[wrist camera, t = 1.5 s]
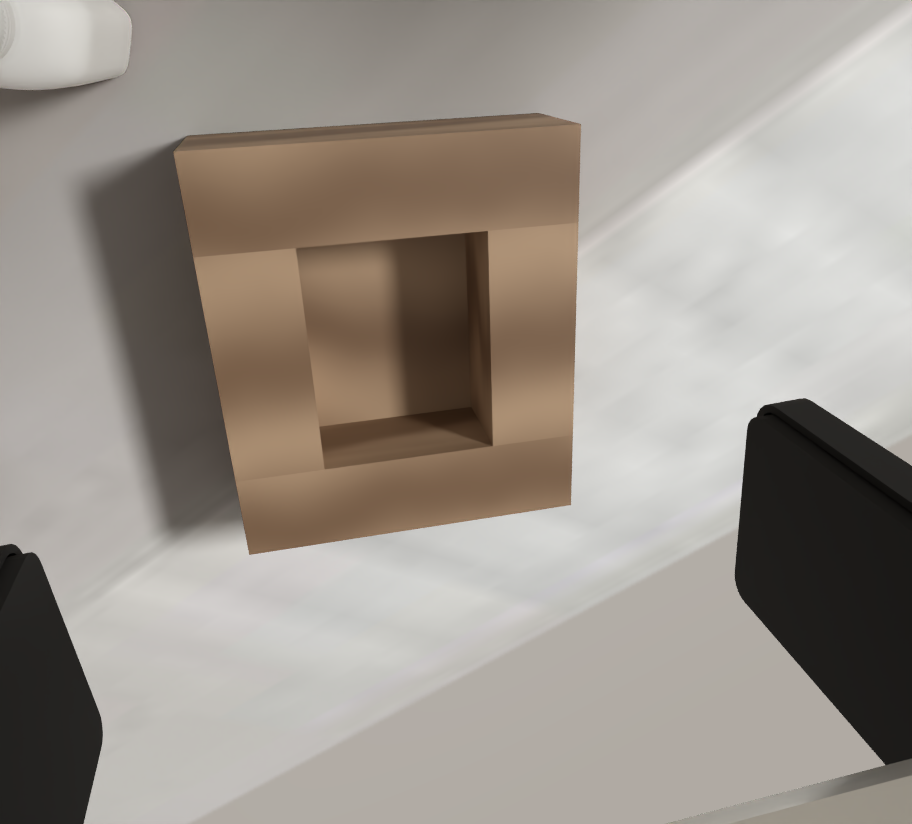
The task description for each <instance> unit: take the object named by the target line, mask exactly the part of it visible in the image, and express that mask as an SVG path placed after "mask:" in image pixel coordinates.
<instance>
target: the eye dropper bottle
mask: <svg viewBox="0 0 912 824" xmlns="http://www.w3.org/2000/svg"><path fill="white" fill-rule="evenodd" d="M131 36H132V24H131V19H130V17H129V15H128V14H127V13H126V11H125V10H124V9H123V8H122V7H120V6H119V5H118V4H117V3H116V2H114V1H113V0H0V88H5V89H16V90H49V89H59V88H66V87H73V86H79V85H84V84H89V83H94V82H98V81H103V80H107V79H112V78H116V77H119V76H120V75H122V74H124V73H125V71H126V69H127V67H128V63H129V56H130V46H131Z"/></svg>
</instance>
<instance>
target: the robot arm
mask: <svg viewBox="0 0 912 824" xmlns="http://www.w3.org/2000/svg"><path fill="white" fill-rule="evenodd" d="M735 581H736V586H737V589H738V592H739V594H740V596H741V598H742V599H743V600H744V602H745V603H746V604H747V605H748V606H749V607H750V609H751V610H752V611H753V612H754V613H755V614H756V616H757V617H758V618H759V619H760V620H761V621H762V622H763V624H764V625H765V626H766V627H767V628H768V630H769V631H770V632H771V633H772V634H773V635H774V636H775V638H776V639H777V640H778V641H779V642H780V643H781V645H782V646H783V647H784V648H785V649H786V650H787V651H788V653H789V654H790V655H791V656H792V657H793V658H794V660H795V661H796V662H797V663H798V664H799V665H800V666H801V668H802V669H803V670H804V671H805V672H806V673H807V675H808V676H809V677H810V678H811V679H812V680H813V681H814V683H815V684H816V685H817V686H818V687H819V688H820V690H821V691H822V692H823V693H824V694H825V695H826V696H827V698H828V699H829V700H830V701H831V702H832V703H833V705H834V706H835V707H836V708H837V709H838V710H839V712H840V713H841V714H842V715H843V716H844V717H845V718H846V719H847V721H848V722H849V723H850V724H851V725H852V726H853V728H854V729H855V730H856V731H857V732H858V733H859V734H860V736H861V737H862V738H863V739H864V740H865V742H866V743H867V744H868V745H869V746H870V747H871V748H872V750H874V752H875V753H876V754H877V755H878V757H879V758H880V759H881V760H882V761H883V762H884V764H885V766H881V767H878V768H874V769H870V770H866V771H862V772H859V773H855V774H851V775H847V776H844V777H840V778H836V779H832V780H829V781H825V782H821V783H817V784H813V785H809V786H806V787H802V788H798V789H794V790H791V791H787V792H783V793H779V794H776V795H772V796H768V797H764V798H760V799H756V800H753V801H749V802H745V803H741V804H738V805H734V806H730V807H726V808H722V809H719V810H716V811H712V812H708V813H704V814H700V815H697V816H693V817H689V818H685V819H682V820H678V821H674V822H671V823H667V824H912V466H911V465H910V464H908V463H907V462H905V461H903V460H902V459H900V458H899V457H897V456H896V455H894V454H893V453H891V452H889V451H888V450H886V449H885V448H883V447H882V446H880V445H879V444H877V443H876V442H874V441H872V440H871V439H869V438H868V437H866V436H865V435H863V434H862V433H860V432H859V431H857V430H855V429H854V428H852V427H851V426H849V425H848V424H846V423H845V422H843V421H841V420H840V419H838V418H837V417H835V416H834V415H832V414H831V413H829V412H828V411H826V410H824V409H823V408H821V407H820V406H818V405H817V404H815V403H814V402H812V401H810V400H808V399H805V398H803V399H796V400H791V401H785V402H780V403H774V404H769V405H765V406H763V407H762V408H761V409H760V410H759V412H758V414H757V417H755V418H753V419H751V420H750V422H749V424H748V429H747V438H746V450H745V461H744V473H743V484H742V496H741V507H740V519H739V531H738V542H737V554H736V565H735ZM102 737H103V731H102V722H101V717H100V714H99V711H98V708H97V706H96V703H95V700H94V698H93V695H92V693H91V690H90V688H89V685H88V682H87V680H86V677H85V675H84V672H83V669H82V667H81V664H80V662H79V659H78V657H77V654H76V651H75V649H74V646H73V644H72V641H71V639H70V636H69V633H68V631H67V628H66V626H65V623H64V621H63V618H62V615H61V613H60V610H59V608H58V605H57V603H56V600H55V597H54V595H53V592H52V590H51V587H50V585H49V582H48V579H47V577H46V574H45V572H44V569H43V566H42V564H41V562H40V560H39V558H38V557H37V555H36V554H35V553H32V552H31V553H25V554H22V552H21V550H20V549H19V548H18V547H17V546H16V545H13V544H8V545H3V546H0V824H83V823H84V819H85V815H86V811H87V806H88V802H89V798H90V793H91V789H92V785H93V781H94V776H95V772H96V768H97V764H98V759H99V755H100V751H101V746H102Z"/></svg>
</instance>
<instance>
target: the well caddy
mask: <svg viewBox="0 0 912 824" xmlns="http://www.w3.org/2000/svg"><path fill="white" fill-rule="evenodd" d="M580 139H581V124H578V123H574V122H571V121H567V120H563V119H559V118H555V117H552V116H548V115H544V114H540V113H532V114H516V115H501V116H485V117H470V118H454V119H439V120H423V121H407V122H392V123H376V124H361V125H345V126H330V127H314V128H299V129H283V130H268V131H252V132H237V133H221V134H206V135H190V136H187V137H186V138H185V139H184V140H183V141H182V142H181V144H180V145H179V146H178V147H177V148H176V149H175V150H174V151H173V153H174V158H175V164H176V169H177V174H178V180H179V185H180V190H181V195H182V201H183V206H184V211H185V217H186V222H187V227H188V232H189V238H190V243H191V248H192V254H193V259H194V264H195V270H196V275H197V280H198V285H199V291H200V296H201V301H202V307H203V312H204V317H205V322H206V328H207V333H208V338H209V344H210V349H211V354H212V360H213V365H214V370H215V375H216V381H217V386H218V391H219V397H220V402H221V407H222V413H223V418H224V423H225V428H226V434H227V439H228V444H229V450H230V455H231V460H232V465H233V471H234V476H235V481H236V487H237V492H238V497H239V503H240V508H241V513H242V518H243V524H244V529H245V534H246V540H247V545H248V550H249V555H251V554H258V553H264V552H270V551H277V550H283V549H290V548H296V547H303V546H309V545H316V544H322V543H328V542H335V541H341V540H348V539H354V538H361V537H367V536H374V535H380V534H386V533H393V532H399V531H406V530H412V529H419V528H425V527H432V526H438V525H444V524H451V523H457V522H464V521H470V520H477V519H483V518H490V517H496V516H502V515H509V514H515V513H522V512H528V511H535V510H541V509H547V508H554V507H560V506H567V505H571V479H572V441H573V403H574V365H575V328H576V290H577V252H578V214H579V176H580Z"/></svg>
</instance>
